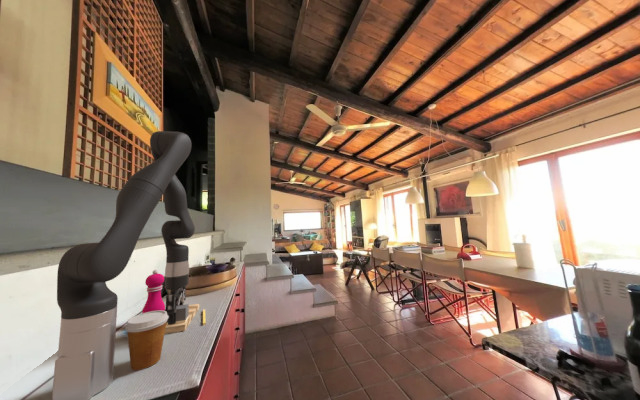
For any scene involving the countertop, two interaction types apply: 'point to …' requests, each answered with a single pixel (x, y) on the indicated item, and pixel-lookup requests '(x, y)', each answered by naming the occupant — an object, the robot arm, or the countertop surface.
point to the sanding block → (181, 314)
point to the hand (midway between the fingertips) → (175, 319)
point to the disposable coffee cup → (146, 338)
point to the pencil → (204, 317)
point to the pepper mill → (154, 293)
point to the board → (182, 326)
